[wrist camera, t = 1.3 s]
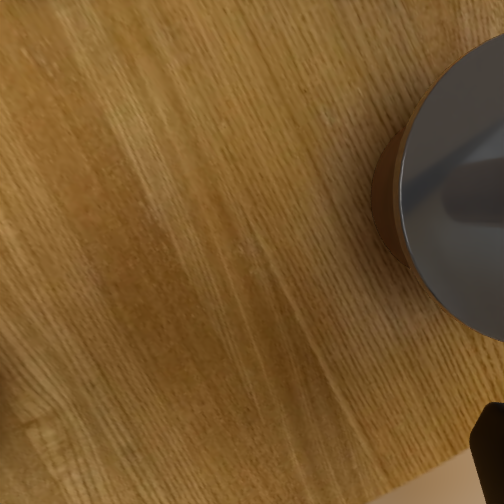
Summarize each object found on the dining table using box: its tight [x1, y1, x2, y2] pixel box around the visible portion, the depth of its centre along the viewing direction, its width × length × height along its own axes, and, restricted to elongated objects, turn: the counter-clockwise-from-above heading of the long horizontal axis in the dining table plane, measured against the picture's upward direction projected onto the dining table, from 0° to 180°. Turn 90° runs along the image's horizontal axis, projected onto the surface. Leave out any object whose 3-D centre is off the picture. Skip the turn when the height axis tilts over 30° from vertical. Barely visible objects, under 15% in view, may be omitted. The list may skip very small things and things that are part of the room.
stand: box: [371, 125, 410, 268], centre depth 21 cm, size 8×8×5 cm
